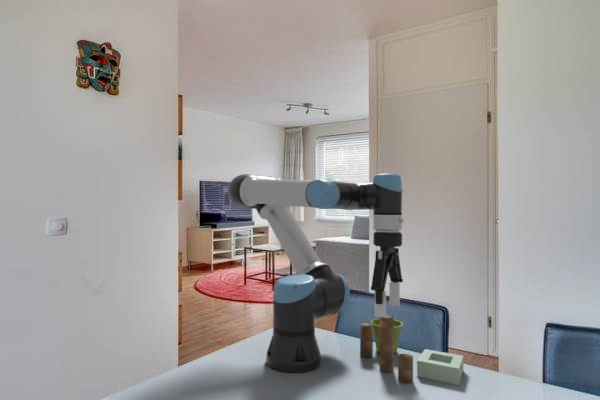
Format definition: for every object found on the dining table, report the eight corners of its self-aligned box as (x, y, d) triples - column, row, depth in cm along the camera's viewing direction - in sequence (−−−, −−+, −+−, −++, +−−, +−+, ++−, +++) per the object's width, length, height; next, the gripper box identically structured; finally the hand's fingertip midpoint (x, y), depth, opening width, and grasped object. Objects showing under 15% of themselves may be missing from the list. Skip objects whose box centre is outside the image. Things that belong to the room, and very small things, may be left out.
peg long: (377, 370, 102) (378, 317, 103) (381, 366, 105) (382, 314, 106) (391, 373, 101) (391, 319, 101) (394, 369, 104) (395, 316, 104)
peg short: (396, 381, 96) (396, 357, 96) (400, 376, 99) (400, 352, 99) (411, 384, 94) (411, 360, 94) (414, 379, 97) (414, 355, 98)
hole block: (417, 376, 99) (417, 360, 99) (424, 363, 108) (424, 349, 108) (458, 385, 94) (458, 368, 94) (463, 370, 103) (463, 355, 103)
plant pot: (403, 358, 112) (403, 327, 112) (370, 355, 114) (370, 325, 114) (401, 347, 121) (401, 319, 121) (371, 344, 123) (371, 317, 123)
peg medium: (358, 356, 112) (358, 325, 113) (362, 353, 115) (362, 322, 116) (370, 359, 111) (370, 327, 111) (374, 355, 114) (374, 324, 114)
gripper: (388, 233, 92) (388, 324, 91) (412, 230, 113) (412, 303, 112) (358, 232, 95) (358, 319, 94) (387, 229, 117) (387, 300, 116)
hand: (387, 311), depth 103 cm, fingers open, 13 cm apart
